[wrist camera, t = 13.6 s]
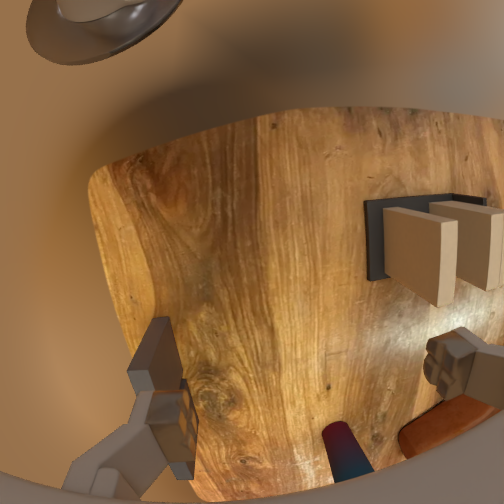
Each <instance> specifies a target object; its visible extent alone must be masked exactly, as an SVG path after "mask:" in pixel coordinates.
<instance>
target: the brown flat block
mask: <svg viewBox="0 0 504 504" xmlns="http://www.w3.org/2000/svg"><path fill="white" fill-rule="evenodd" d="M383 222H384V256H385V273H386V274H387V275H389V276H390V277H392V278H393V279H395V280H396V281H398V282H399V283H401V284H402V285H404V286H405V287H407V288H408V289H410V290H411V291H413V292H414V293H416V294H417V295H419V296H420V297H422V298H423V299H425V300H426V301H428V302H429V303H431V304H432V305H434V306H435V307H437V308H438V307H442V306H445V305H448V304H452V303H453V299H454V290H455V279H456V264H457V242H458V221H457V220H454V219H450V218H446V217H441V216H437V215H433V214H428V213H424V212H419V211H415V210H410V209H405V208H400V207H391V208H383Z"/></svg>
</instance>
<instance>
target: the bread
mask: <svg viewBox="0 0 504 504" xmlns="http://www.w3.org/2000/svg"><path fill="white" fill-rule="evenodd" d="M500 411H501V410H500V409H497V408H495V407H493V406H490V405H488V404H485V403H483V402H481V401H478V400H476V399H474V398H471V397H469V396H467V395H464V394H461V395H459V396H457V397H455V398H452V399H450V400H448V401H443V402H442V403H441V404H439V405H438V406H436V407H435V408H434V409H432V410H431V411H429V412H428V413H426V414H425V415H423V416H422V417H420V418H419V419H417V420H415V421H414V422H412V423H411V424H409V425H407V426H406V427H404V428H403V429H402V430H401V431H400V434H399V444H400V447H401V449H402V452H403V454H404V456H405V457H406V458H407V459H410V458H412V457H414V456H417V455H419V454H421V453H424V452H426V451H428V450H430V449H432V448H435V447H437V446H439V445H441V444H443V443H445V442H447V441H449V440H451V439H453V438H455V437H457V436H459V435H461V434H463V433H464V432H466V431H468V430H470V429H472V428H473V427H475V426H477V425H479V424H480V423H482V422H484V421H485V420H487V419H489V418H490V417H492V416H494V415H495V414H497V413H498V412H500Z"/></svg>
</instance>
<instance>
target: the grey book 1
mask: <svg viewBox="0 0 504 504" xmlns="http://www.w3.org/2000/svg"><path fill="white" fill-rule="evenodd" d="M127 373H128V376H129V378H130V381H131V383H132V386H133V389H134V391H135V393H136V396H137V395H138V393H139V392H140V391H158V390H179V388H180V383H181V378H182V373H183V368H182V365H181V361H180V358H179V354H178V350H177V346H176V343H175V339H174V335H173V331H172V327H171V323H170V319H169V317H161V318H153V319H152V321H151V323H150V325H149V327H148V329H147V331H146V333H145V335H144V337H143V339H142V341H141V343H140V345H139V347H138V349H137V351H136V353H135V355H134V357H133V359H132V361H131V363H130V365H129V367H128V369H127Z"/></svg>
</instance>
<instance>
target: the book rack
mask: <svg viewBox="0 0 504 504" xmlns="http://www.w3.org/2000/svg"><path fill="white" fill-rule="evenodd" d="M391 207H400V208H405V209H410V210H415V211H419V212H424V213H428V214H433V215H437V216H441V217H446V218H450V219H454V220H457V221H458V242H457V264H456V276H457V277H459V278H461V279H463V280H465V281H467V282H469V283H471V284H472V285H474V286H476V287H478V288H480V289H482V290H484V291H489V290H492V289H495V288H498V287H500V286H503V285H504V210H503V209H498V208H492V207H487V201H486V198H483V197H476V196H469V195H462V194H454V193H448V194H434V195H422V196H410V197H398V198H387V199H376V200H366V201H364V209H365V225H366V246H367V280H369V281H375V280H380V279H386V278H391V277H390V276H389V275H387V274H386V273H385V256H384V222H383V208H391Z"/></svg>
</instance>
